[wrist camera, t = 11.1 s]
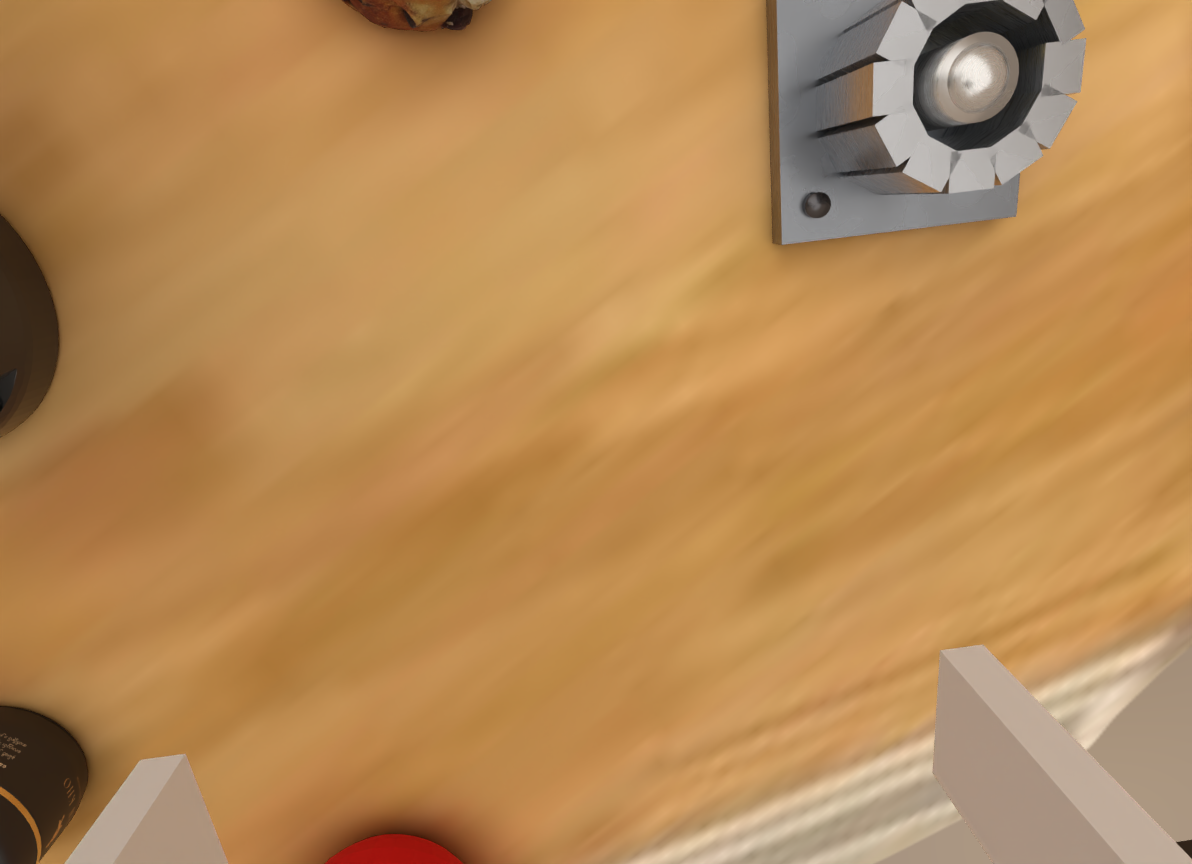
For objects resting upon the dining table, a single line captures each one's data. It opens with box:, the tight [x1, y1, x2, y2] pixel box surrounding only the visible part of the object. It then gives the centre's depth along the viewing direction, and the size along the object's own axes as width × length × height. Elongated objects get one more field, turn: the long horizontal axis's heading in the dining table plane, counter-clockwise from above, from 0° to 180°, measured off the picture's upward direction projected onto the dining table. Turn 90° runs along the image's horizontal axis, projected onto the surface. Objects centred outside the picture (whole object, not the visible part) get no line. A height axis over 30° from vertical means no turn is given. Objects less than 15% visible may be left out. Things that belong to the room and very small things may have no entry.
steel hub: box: [816, 0, 1086, 195], centre depth 30 cm, size 8×8×6 cm
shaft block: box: [766, 0, 1020, 245], centre depth 30 cm, size 12×12×8 cm
